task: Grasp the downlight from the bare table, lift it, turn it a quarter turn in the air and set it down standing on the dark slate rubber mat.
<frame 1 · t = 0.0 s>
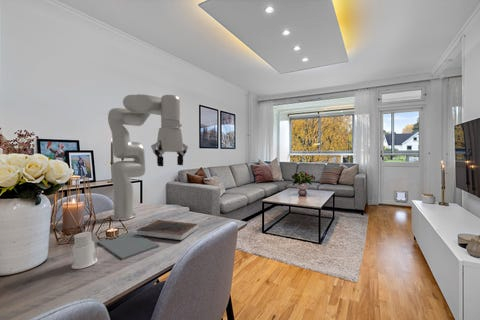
hand: (170, 165, 94), 31 cm above the table, tool pointing down, fingers open, 9 cm apart
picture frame: (168, 232, 102), on the table, touching mat
mat: (128, 244, 88), on the table
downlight: (84, 264, 73), on the table
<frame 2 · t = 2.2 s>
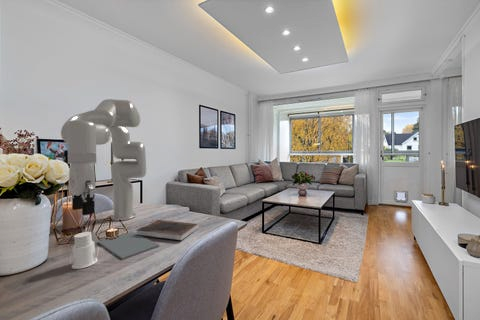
hand: (83, 211, 72), 17 cm above the table, tool pointing down, fingers open, 9 cm apart
nothing on the table moved.
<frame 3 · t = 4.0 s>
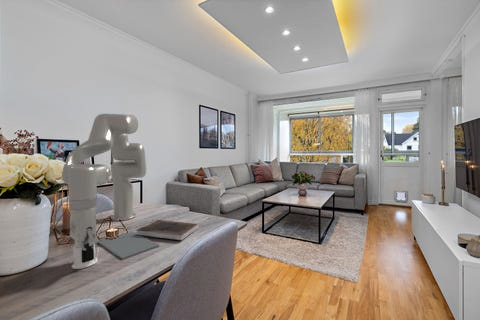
hand: (84, 257, 73), 2 cm above the table, tool pointing down, fingers closed on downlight, 5 cm apart
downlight: (84, 264, 73), on the table, touching gripper
everything else where it was.
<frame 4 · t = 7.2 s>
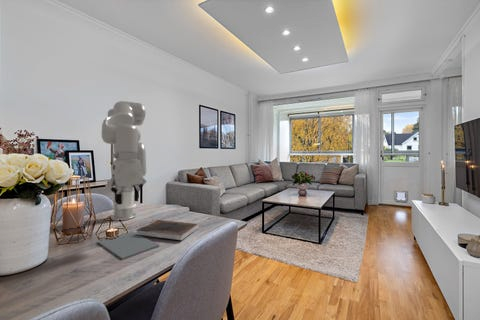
hand: (127, 201, 88), 17 cm above the table, tool pointing down, fingers closed on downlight, 5 cm apart
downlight: (126, 207, 88), point 15 cm above the table, touching gripper
everything else where it was.
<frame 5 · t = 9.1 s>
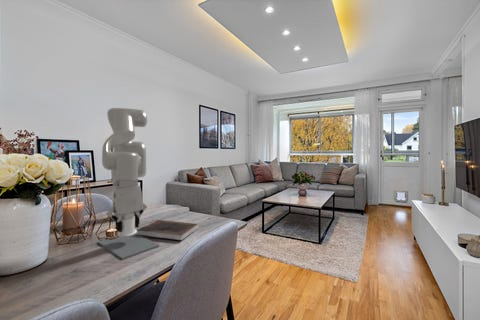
hand: (127, 228, 88), 7 cm above the table, tool pointing down, fingers closed on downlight, 5 cm apart
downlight: (127, 233, 88), point 4 cm above the table, touching gripper
everything else where it was.
when the fingers open (4 cm above the table, at t = 10.6 s): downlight drops 1 cm, resting on mat.
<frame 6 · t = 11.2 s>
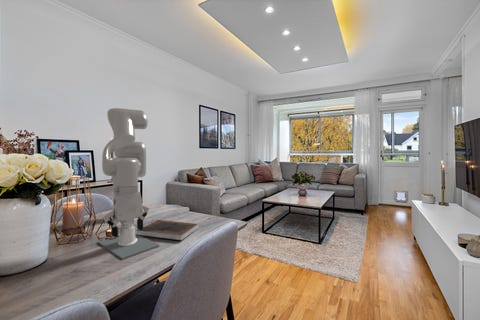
hand: (127, 232, 88), 5 cm above the table, tool pointing down, fingers open, 9 cm apart
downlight: (127, 242, 89), resting on mat
everything else where it was.
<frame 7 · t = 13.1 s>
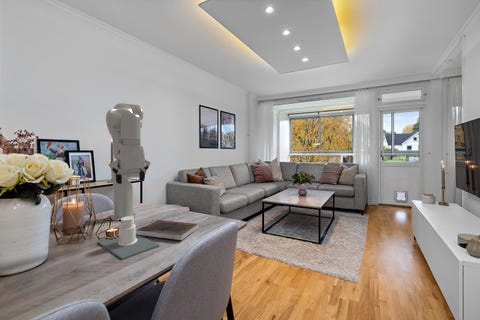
hand: (131, 182, 96), 24 cm above the table, tool pointing down, fingers open, 9 cm apart
nothing on the table moved.
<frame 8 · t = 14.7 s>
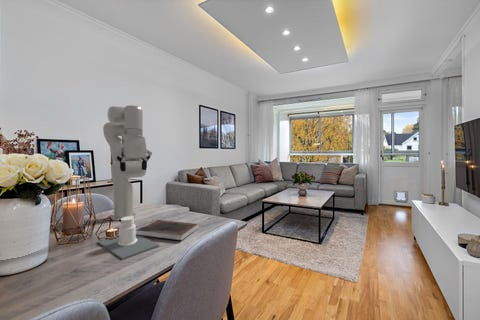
hand: (134, 170, 102), 28 cm above the table, tool pointing down, fingers open, 9 cm apart
nothing on the table moved.
at the end: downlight inside the target area on the mat (1.1 cm from its centre), point 0.4 cm above the mat's base; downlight tilted 0°; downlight touching mat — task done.
